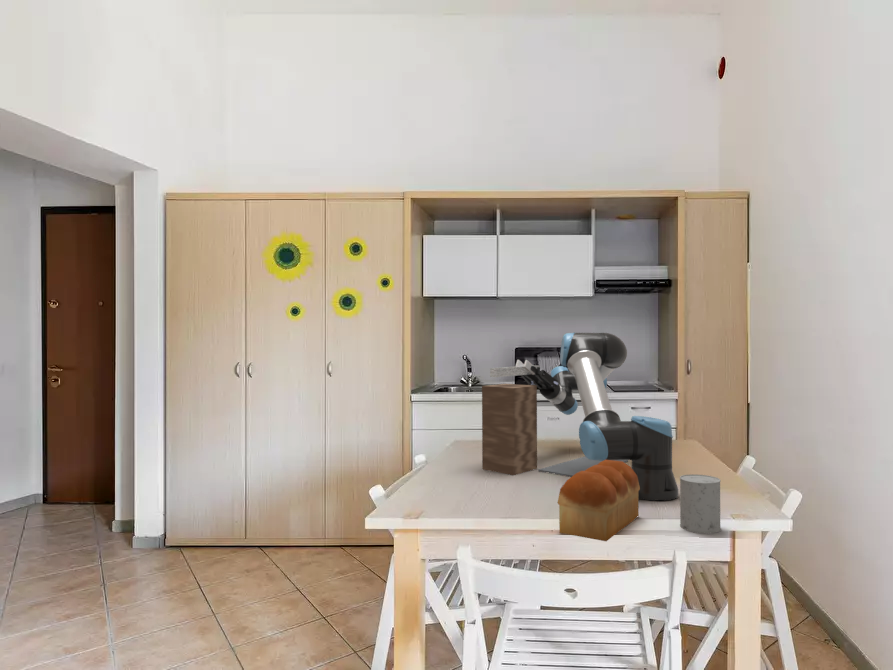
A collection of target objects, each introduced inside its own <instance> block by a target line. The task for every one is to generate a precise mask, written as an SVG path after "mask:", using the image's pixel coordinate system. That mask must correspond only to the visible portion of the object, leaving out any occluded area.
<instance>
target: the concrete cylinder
mask: <svg viewBox="0 0 893 670" xmlns="http://www.w3.org/2000/svg"><path fill="white" fill-rule="evenodd" d="M679 484H680V485H679V487H680V488H679V493H680V494H679V496H680V498H679V502H680V503H679V506H680V509H679V510H680V511H679V512H680V513H679V515H680V521H679V523H680V524H679V526H680V529H683V530H684V531H687V532H691V533H696V534H707V535H708V534H717V533H719V532H721V531H722V528H721V478H718V477H716V476H712V475H708V474H707V475H705V474H691V473H690V474H683V475H680V476H679Z"/></svg>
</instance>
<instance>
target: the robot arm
mask: <svg viewBox="0 0 893 670" xmlns="http://www.w3.org/2000/svg"><path fill="white" fill-rule="evenodd" d="M626 346H627V345H625V343H624V342H623V340H622V339H621V338H620V337H618V336H616V335H615V334H613V333H609V332H568V333H567V332H566V333H565V334H564V335H563V336H562V338H561V345H560V359H559V361H560V365H559V366H556V367H553V368H552V370H551V371H550V373H548V372H547V371H546V370H545V369H541V366H540V367H537V368H536V367H534V366H533V365H534V364H532V362H530V361H529V360H528V359H525V361H524V363H523V362H522V361H521V360H520V359H517V360H516V363H515V367H517V366H524V367H525V368H526V369H527V370H528V371H529V372H530V373H531V374H529V375H519V376H520V377H521V378H522V379H524V381H525V382H526V383H527V385H535V386H537V389H538V390H539V393H540V395H541V396H542V397H544V398H545V399H546V400H548V402H550V403H551V405H553V406H554V407H555V408H556V409H557V410H558V411H559V412H561V413H563V414H564V415H566V416H570V415H572V414H574V413H576V411H577V410H578V406H579V404H578V401H577V399H576V398H575V397H574V395H573V391H577V392H578V394H579V399H580V402H581V405H582V409H583V413H584V418H583V420H582V422H581V423H580V424H579V428H578V438H579V445H580V448H581V451H582V453H583V454H584V456H586V457H587V458H588V459H590V460H599V461H604V460H628V461H631V468H632V469H633V471H634V472H635V473H636V475H637V477H638V482H639V486H640V490H639V491H638V500H644V499H645V500H646V501H655V500H664V501H671V499H673V500H675V498H676V499H678V498H679V487H678V484H677V481H676V477H675V475H674V472H673V437H674V436H673V432H672V431H673V429H672V428H673V427H672V424H671V423H670V421H668V420H665V419H661V418H656V417H651V416H643V415H633V416H631V418H630V421H629V420H628V421H627V420H624V421H623V420H621V418H620V417H621V416H620V415H619V414H618V413H617V412H616V411H615V410H613V408H612V405H611V403H610V399H609V396H608V392H607V384H608V379H607V378H608V377H609V376H610V374H611V373H613V371H614V370H616V369H619V368H620V367H621V366H622V365H623V364H624V363H626V360H627V357H628V349H627V347H626ZM677 497H678V498H677Z"/></svg>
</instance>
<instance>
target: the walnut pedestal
mask: <svg viewBox="0 0 893 670" xmlns="http://www.w3.org/2000/svg"><path fill="white" fill-rule="evenodd" d="M481 411H482V412H481V420H482V421H481V422H482V425H481V429H482V430H481V438H482V439H481V440H482V441H481V442H482V443H481V447H482V449H481V450H482V451H481V452H482V456H481V457H482V458H481V459H482V461H481V462H482V463H481V464H482V466H481V467H482V468H481V469H483V470H484V471H490V472H493V473H494V472H495V473H500V474H504V475H509V474H510V475H511V476H517V475H520V474H524V473H527V472H531V471H534V470H533V469H535V470H538V387H537V386H535V385H533V384H532V385H528V384H521V383H520V384H517V383H516V384H515V383H499V384H489V385H481ZM530 470H531V471H530ZM523 472H524V473H523ZM516 474H517V475H516Z"/></svg>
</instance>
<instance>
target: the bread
mask: <svg viewBox="0 0 893 670" xmlns="http://www.w3.org/2000/svg"><path fill="white" fill-rule="evenodd" d="M639 490H640V486H639V482H638V477H637V475H636V473H635V472H634V471H633V469H632V466H630V465H629V464H627V463H624V462H623V461H614V460H604V461H602V462H600V463H599V464H597V465H594V466H592V467H590V468H588V469H587V470H585V471H580V472H578V473H576V474H575V475H573V476H572V477H569V478H568V479H567V480H566V481H565V482H564V483H563V485H562V486H561V488H559V493H558V498H557V504H558V505H559V506H558V508H559V509H558V511H559V518H558V520H559V521H558V523H559V527H558V528H559V534H564V535H569V536H570V535H571V536H575V537H580V538H586V539H592V540H597V541H601V542H607V541H609V540H610V539H611V538H613V537H614V536H616V535H617V534H618V533H619V532H620V531H622V530H623V529H624V528H626V527H628V525H630V524H631V523H632V522H633V521H635V520H636V519H637V518H638V517H637V516H640V515H639V498H638V491H639ZM636 517H637V518H636ZM635 518H636V519H635ZM634 519H635V520H634Z"/></svg>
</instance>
